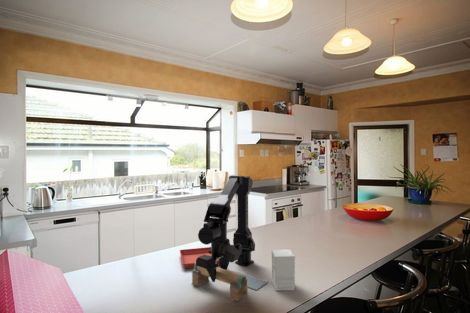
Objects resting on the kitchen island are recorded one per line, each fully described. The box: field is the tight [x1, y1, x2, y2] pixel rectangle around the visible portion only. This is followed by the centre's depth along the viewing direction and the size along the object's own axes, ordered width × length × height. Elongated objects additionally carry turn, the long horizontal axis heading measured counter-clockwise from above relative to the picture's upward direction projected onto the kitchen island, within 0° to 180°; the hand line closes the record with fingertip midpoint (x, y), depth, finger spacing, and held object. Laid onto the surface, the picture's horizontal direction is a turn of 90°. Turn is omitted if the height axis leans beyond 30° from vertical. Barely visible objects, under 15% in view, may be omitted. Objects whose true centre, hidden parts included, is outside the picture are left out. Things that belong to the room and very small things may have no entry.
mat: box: [218, 266, 268, 291], centre depth 109 cm, size 8×24×1 cm, turn 54°
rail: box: [193, 263, 246, 288], centre depth 100 cm, size 3×22×3 cm, turn 54°
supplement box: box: [271, 249, 296, 292], centre depth 103 cm, size 7×7×13 cm
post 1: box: [191, 268, 210, 287], centre depth 106 cm, size 6×3×5 cm, turn 144°
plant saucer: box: [179, 246, 220, 269], centre depth 127 cm, size 18×18×3 cm
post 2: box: [229, 279, 248, 302], centre depth 95 cm, size 6×3×5 cm, turn 144°
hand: (218, 278), depth 100 cm, fingers open, 5 cm apart
